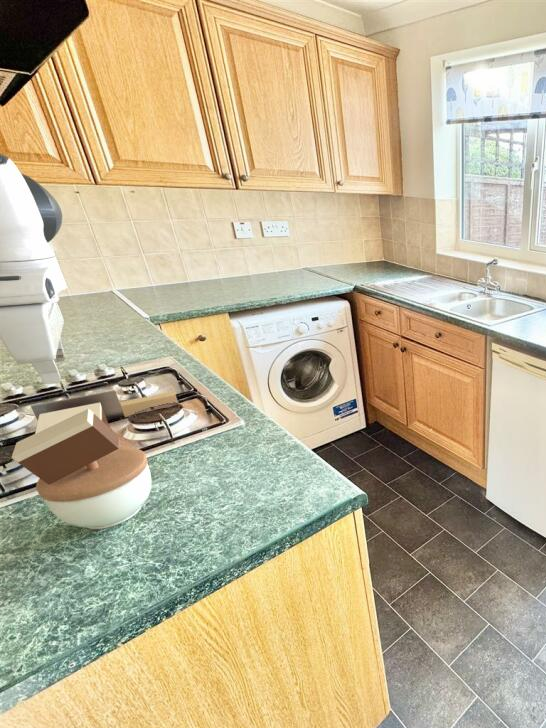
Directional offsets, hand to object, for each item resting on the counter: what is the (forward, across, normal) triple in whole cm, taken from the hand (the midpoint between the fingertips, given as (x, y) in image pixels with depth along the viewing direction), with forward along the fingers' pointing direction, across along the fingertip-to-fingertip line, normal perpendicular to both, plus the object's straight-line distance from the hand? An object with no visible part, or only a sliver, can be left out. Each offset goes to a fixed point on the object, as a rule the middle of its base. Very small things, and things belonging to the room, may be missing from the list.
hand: (56, 370), depth 63 cm
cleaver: (+24, -32, +1) cm, 40 cm away
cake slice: (+13, +6, 0) cm, 14 cm away
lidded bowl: (+24, +6, +1) cm, 25 cm away
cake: (+24, -23, -4) cm, 34 cm away
